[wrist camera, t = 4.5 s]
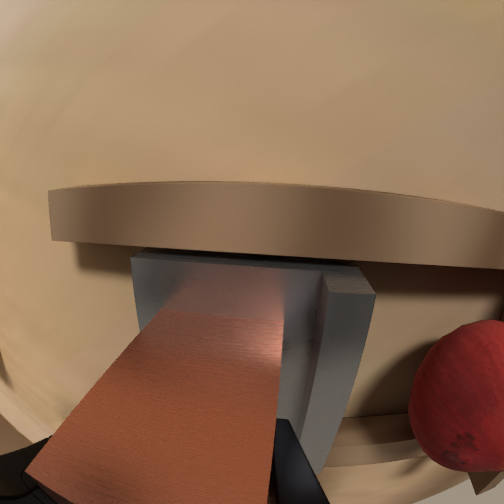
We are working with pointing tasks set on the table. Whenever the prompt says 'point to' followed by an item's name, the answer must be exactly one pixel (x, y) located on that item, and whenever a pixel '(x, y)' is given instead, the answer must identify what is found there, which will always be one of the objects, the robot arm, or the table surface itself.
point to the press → (214, 380)
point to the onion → (462, 399)
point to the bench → (294, 251)
